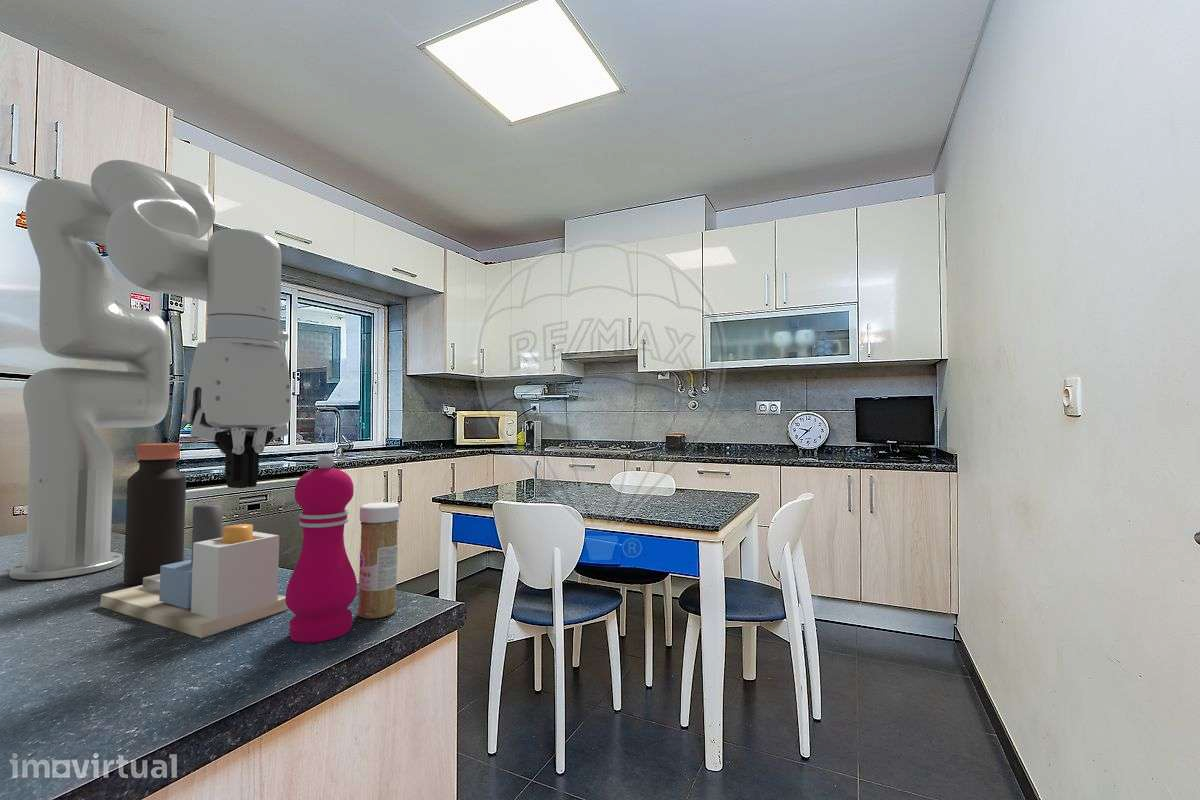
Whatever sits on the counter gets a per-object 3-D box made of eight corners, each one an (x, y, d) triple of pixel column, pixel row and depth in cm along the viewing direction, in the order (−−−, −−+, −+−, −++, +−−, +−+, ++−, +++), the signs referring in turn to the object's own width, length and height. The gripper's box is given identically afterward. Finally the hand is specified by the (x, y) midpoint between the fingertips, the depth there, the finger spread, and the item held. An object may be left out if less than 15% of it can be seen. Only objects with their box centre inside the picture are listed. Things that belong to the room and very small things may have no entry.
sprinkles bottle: (350, 613, 66) (353, 504, 67) (385, 604, 70) (387, 500, 70) (368, 623, 63) (371, 508, 64) (404, 612, 67) (406, 504, 67)
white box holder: (191, 612, 62) (193, 542, 63) (252, 594, 69) (254, 531, 69) (216, 619, 60) (218, 547, 60) (277, 600, 66) (279, 535, 67)
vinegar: (112, 583, 77) (117, 444, 78) (164, 571, 84) (169, 442, 84) (141, 589, 75) (147, 445, 76) (193, 576, 81) (197, 443, 82)
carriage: (159, 600, 65) (162, 507, 66) (220, 584, 72) (223, 500, 72) (187, 608, 63) (190, 512, 63) (248, 591, 69) (251, 503, 69)
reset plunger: (216, 561, 64) (217, 527, 64) (242, 555, 67) (243, 523, 67) (231, 564, 63) (232, 530, 63) (257, 558, 65) (258, 525, 65)
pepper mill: (327, 648, 56) (331, 457, 57) (268, 641, 58) (273, 455, 59) (369, 622, 64) (373, 453, 64) (316, 617, 65) (320, 451, 66)
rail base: (100, 606, 68) (101, 584, 68) (188, 584, 77) (189, 565, 77) (201, 638, 59) (202, 613, 59) (288, 609, 68) (289, 587, 68)
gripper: (283, 345, 74) (281, 479, 73) (155, 328, 60) (151, 493, 59) (320, 341, 71) (319, 481, 70) (193, 322, 57) (190, 496, 56)
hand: (241, 486), depth 65 cm, fingers closed
